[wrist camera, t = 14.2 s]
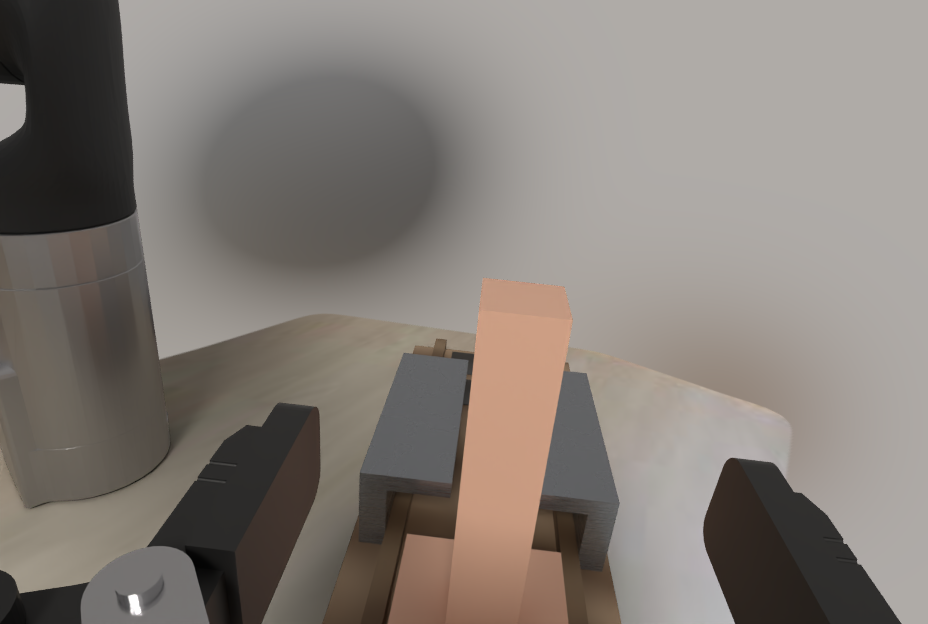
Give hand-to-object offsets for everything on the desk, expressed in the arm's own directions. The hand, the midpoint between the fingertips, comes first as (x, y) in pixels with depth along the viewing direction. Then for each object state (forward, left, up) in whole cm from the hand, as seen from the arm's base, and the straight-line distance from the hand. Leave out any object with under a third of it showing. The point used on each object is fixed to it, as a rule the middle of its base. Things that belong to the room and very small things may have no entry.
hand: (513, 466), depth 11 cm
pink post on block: (+7, +5, -18) cm, 20 cm away
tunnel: (+17, +14, -18) cm, 29 cm away
